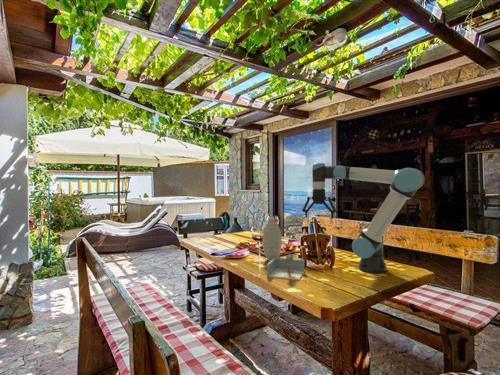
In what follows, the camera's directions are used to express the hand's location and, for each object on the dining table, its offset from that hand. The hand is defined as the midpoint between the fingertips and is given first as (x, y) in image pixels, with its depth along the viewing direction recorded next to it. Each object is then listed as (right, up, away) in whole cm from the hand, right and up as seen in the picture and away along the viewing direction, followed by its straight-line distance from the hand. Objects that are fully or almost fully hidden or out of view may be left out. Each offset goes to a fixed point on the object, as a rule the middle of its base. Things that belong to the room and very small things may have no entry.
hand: (319, 223), depth 180 cm
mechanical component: (-20, -27, -14) cm, 36 cm away
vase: (-27, -27, +18) cm, 42 cm away
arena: (-21, -28, -11) cm, 37 cm away
